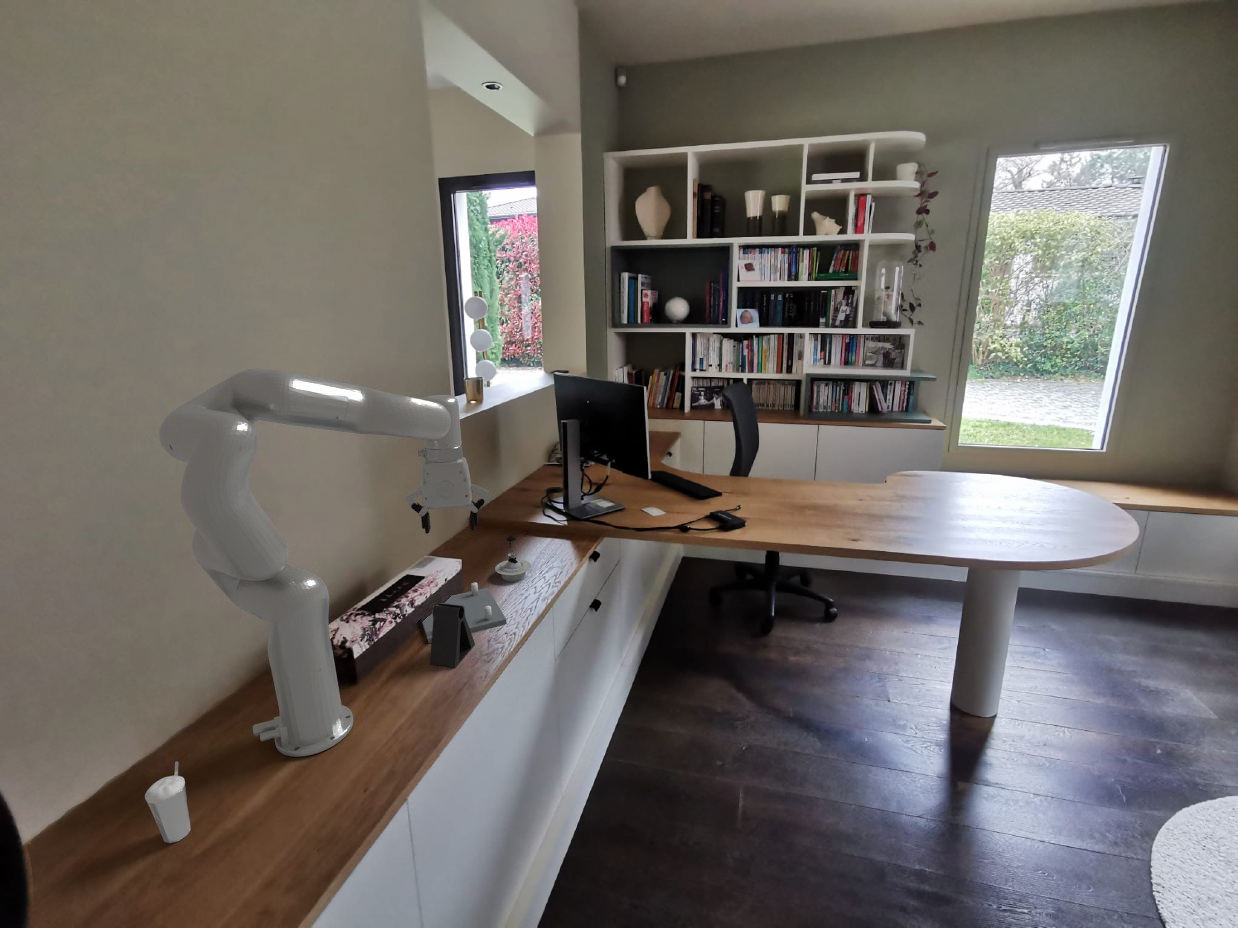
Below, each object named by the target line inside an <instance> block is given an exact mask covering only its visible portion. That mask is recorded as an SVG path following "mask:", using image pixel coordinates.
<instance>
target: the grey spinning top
mask: <svg viewBox="0 0 1238 928" xmlns="http://www.w3.org/2000/svg"><path fill="white" fill-rule="evenodd" d="M516 540H517V537H516V536H514V535H512V534H510V535H509V536H507V537H506V541H507V542H509V544H508V545H509V546H508V547H509V551H511V552H510V553H508V554H507V556H508V560H503V561H502V562H500V563H498V564H497V565H495V568H494V571H495V572H496V573H497V574H500V575H501V578H502V579H503V580H504V581H507V582H518V581H519V580H521V581H522V580H523V579H525V578H526V575H527V572H528V571H530V570H531V568H532V563H531V562H530V561H528V560H527V559H525V560H524V559H523V558H518V559H517V557H516V556H518V553H517V552H514V551H513V549H511V547H512V542H514V541H516ZM510 549H511V550H510Z"/></svg>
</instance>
